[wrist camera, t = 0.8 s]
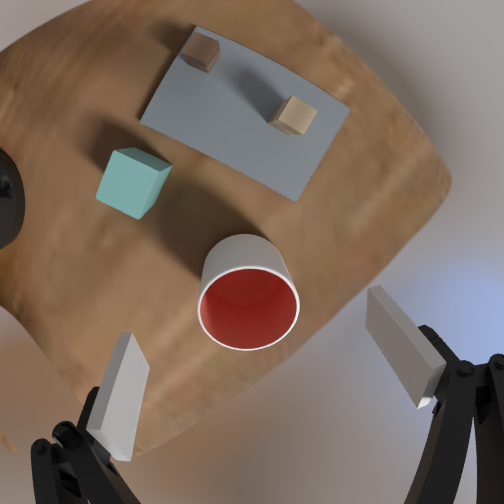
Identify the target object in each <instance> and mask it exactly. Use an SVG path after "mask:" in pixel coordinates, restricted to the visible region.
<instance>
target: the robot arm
mask: <svg viewBox="0 0 504 504" xmlns="http://www.w3.org/2000/svg"><path fill="white" fill-rule="evenodd" d="M24 213H25V197H24V189H23V184H22V180H21V177H20V174H19V172H18V170H17V168H16V166H15V164H14V163H13V161H12V160H11V159H10V157H9V156H7V155H6V154H5V153H3V152H2V151H0V249H2V248H4V247H5V246H7V245H8V244H10V243H11V242H13V241H14V240H15V238H16V237H17V236H18V234H19V232H20V230H21V227H22V224H23V220H24ZM366 328H367V330H368V331H369V333H370V334H371V336H372V337H373V339H374V340H375V342H376V343H377V345H378V347H379V348H380V350H381V351H382V353H383V354H384V356H385V357H386V359H387V361H388V362H389V364H390V365H391V367H392V368H393V370H394V372H395V373H396V375H397V376H398V378H399V380H400V381H401V383H402V384H403V386H404V387H405V389H406V391H407V392H408V394H409V396H410V398H411V399H412V401H413V402H414V404H415V405H416V407H417V408H420V407H422V406H425V405H427V404H429V403H430V402H431V401H432V398H433V396H435V397H436V398H437V400H438V401H437V403H436V405H435V407H434V409H433V411H432V413H433V414H434V415H433V419H432V423H431V427H430V431H429V434H428V438H427V441H426V444H425V448H424V451H423V454H422V457H421V460H420V463H419V466H418V469H417V472H416V475H415V477H414V480H413V483H412V485H411V488H410V491H409V493H408V495H407V498H406V500H405V502H404V504H453V502H454V499H455V496H456V493H457V490H458V486H459V483H460V479H461V475H462V471H463V467H464V463H465V458H466V454H467V449H468V444H469V438H470V433H471V426H472V419H473V417H474V427H475V438H476V454H477V501H476V504H504V355H503V354H495V355H493V356H491V357H490V360H489V362H488V363H485V364H480V365H473V364H472V363H471V362H469V361H465V360H461V361H460V360H459V359H458V357H457V356H456V355H455V354H454V353H453V351H452V350H451V349H450V348H449V347H448V346H447V345H446V343H445V342H443V340H442V339H441V338H440V337H439V335H438V334H437V333H436V332H435V331H434V330H433V329H432V328H430V327H428V326H426V325H422V326H419V327H417V326H416V325H415V324H414V323H413V322H412V321H411V320H410V318H409V317H408V316H407V315H406V314H405V313H404V311H403V310H402V309H401V308H400V307H399V306H398V305H397V304H396V302H395V301H394V300H393V299H392V298H391V297H390V296H389V295H388V294H387V293H386V292H385V290H384V289H383V288H382V287H381V286H380V285H379V286H374V287H371V288H368V297H367V314H366ZM149 368H150V367H149V365H148V363H147V361H146V359H145V357H144V355H143V353H142V351H141V349H140V347H139V345H138V343H137V341H136V339H135V337H134V335H133V333H124V334H120V337H119V339H118V341H117V344H116V346H115V349H114V351H113V354H112V356H111V359H110V362H109V364H108V367H107V369H106V372H105V375H104V377H103V380H102V383H101V386H100V387H94V388H93V389H92V390H91V391H90V392H89V394H88V396H87V399H86V401H85V402H86V403H85V404H84V407H83V410H82V412H81V416H80V418H79V421H78V424H77V427H75V426H74V424H73V423H72V422H70V421H63V422H60V423H59V424H57V425H56V426H55V428H54V429H53V432H52V438H53V439H54V440H55V441H56V442H57V443H55V444H51V443H50V442H49V441H47V440H46V439H44V438H42V439H38V440H36V441H35V442H34V443H33V445H32V446H31V465H32V477H33V486H34V494H35V501H36V504H89V503H88V500H89V502H90V504H141V503H140V502H139V500H138V499H137V498H136V497H135V495H134V494H133V493H132V491H131V490H130V489H129V487H128V486H127V484H126V483H125V482H124V480H123V479H122V477H121V476H120V474H119V473H118V471H117V470H116V468H115V467H114V465H113V463H112V462H111V461H110V456H111V455H112V456H113V457H114V458H115V459H116V460H120V461H131V457H132V451H133V445H134V440H135V434H136V429H137V424H138V419H139V414H140V409H141V404H142V399H143V395H144V390H145V386H146V381H147V377H148V373H149ZM87 499H88V500H87Z"/></svg>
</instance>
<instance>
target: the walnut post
mask: <svg viewBox="0 0 504 504" xmlns="http://www.w3.org/2000/svg"><path fill="white" fill-rule="evenodd" d="M181 54H182V55H183V57H184V59H185V61H186V62H187V64H188V65H190V66H192V67H194V68H197V69H199V70H201V71H203V72H206V73H208V74H209V72H210V71H211V69H212V67H213V66H214V64H215V63H216V61H217V60H218V58H219V57H220V45H219V41H218V40H215V39H213V38H210V37H208V36H206V35H203V34H201V33H198V32H196V31H195V32H194V34H193V35H192V37H191V38H190V40H189V41H188V43H187V44H186V46H185V47H184V49H183V50H182V52H181Z"/></svg>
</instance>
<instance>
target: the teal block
mask: <svg viewBox="0 0 504 504" xmlns="http://www.w3.org/2000/svg"><path fill="white" fill-rule="evenodd" d="M172 166H173V165H171V164H169V163H167V162H165V161H163V160H161V159H159V158H157V157H155V156H152V155H150V154H148V153H146V152H144V151H142V150H140V149H138V148H135V147H131V148H124V149H117V150H114V151H113V153H112V156H111V158H110V160H109V163H108V165H107V168H106V170H105V173H104V176H103V178H102V181H101V183H100V186H99V189H98V192H97V194H96V197H95V198H96V199H98V200H100V201H102V202H104V203H106V204H108V205H110V206H112V207H114V208H116V209H118V210H120V211H122V212H124V213H126V214H128V215H130V216H132V217H134V218H136V219H138V220H139V219H140V218H141V217H142V216H143V215H144V214H145V213H146V212H147V211H148V210H149V209H150V208H151V207H152V206H153V205H154V204H155V202H156V200H157V197H158V195H159V193H160V191H161V189H162V187H163V184H164V182H165V180H166V178H167V176H168V174H169V172H170V170H171V168H172Z"/></svg>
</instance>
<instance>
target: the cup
mask: <svg viewBox="0 0 504 504" xmlns="http://www.w3.org/2000/svg"><path fill="white" fill-rule="evenodd" d="M298 313H299V297H298V294H297V291H296V289H295V286H294V284H293V282H292V279H291V277H290V275H289V272H288V270H287V268H286V265H285V263H284V261H283V258H282V256H281V254H280V253H279V251H278V250H277V248H276V247H275V246H274V245H273V244H272V243H270V242H269V241H267V240H266V239H264V238H262V237H259V236H256V235H252V234H238V235H233V236H230V237H227V238H225V239H223V240H222V241H220V242H219V243H217V244H216V245H215V246H214V247H213V248H212V249H211V251H210V252H209V254H208V255H207V257H206V260H205V262H204V267H203V273H202V279H201V285H200V291H199V297H198V303H197V315H198V319H199V322H200V324H201V326H202V328H203V330H204V331H205V332H206V333H207V335H208V336H209V337H210V338H212V339H213V340H214V341H216V342H217V343H219V344H221V345H223V346H225V347H228V348H231V349H236V350H257V349H261V348H265V347H268V346H270V345H272V344H274V343H276V342H278V341H279V340H281V339H282V338H283V337H284V336H286V335H287V334H288V332H289V331H290V330H291V329H292V327H293V326H294V324H295V322H296V320H297V317H298Z"/></svg>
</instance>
